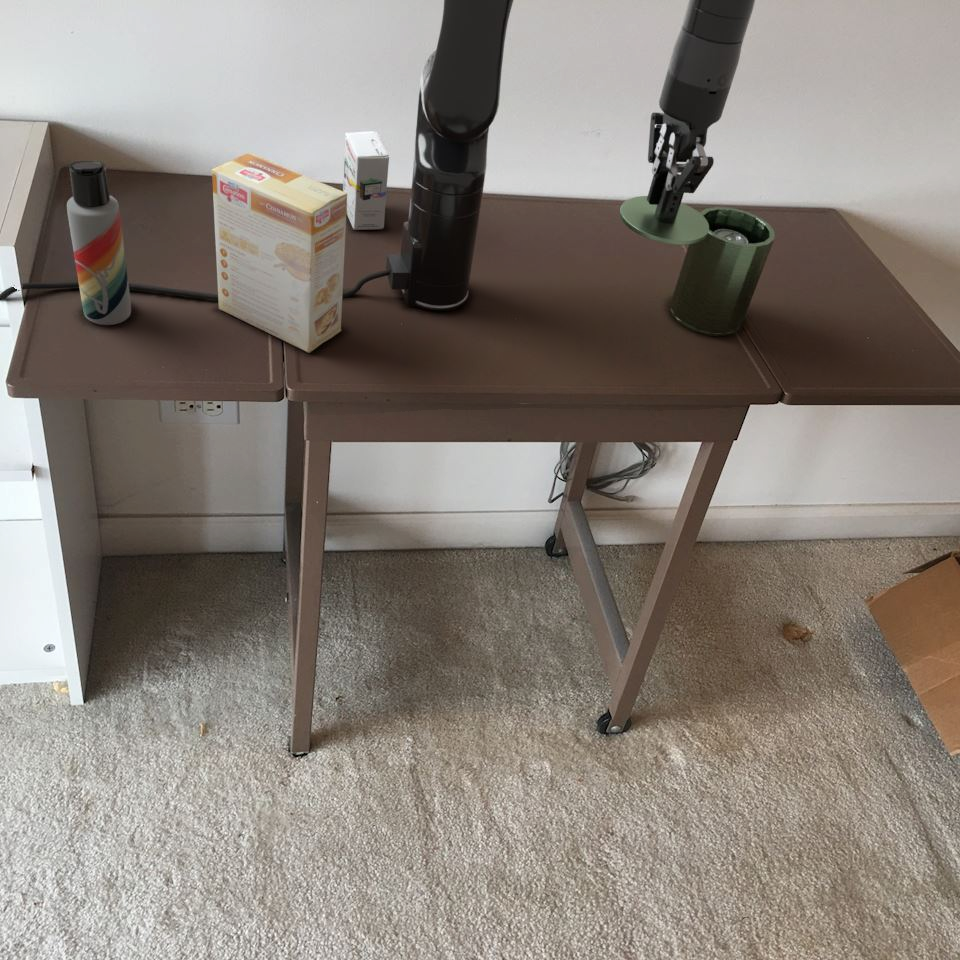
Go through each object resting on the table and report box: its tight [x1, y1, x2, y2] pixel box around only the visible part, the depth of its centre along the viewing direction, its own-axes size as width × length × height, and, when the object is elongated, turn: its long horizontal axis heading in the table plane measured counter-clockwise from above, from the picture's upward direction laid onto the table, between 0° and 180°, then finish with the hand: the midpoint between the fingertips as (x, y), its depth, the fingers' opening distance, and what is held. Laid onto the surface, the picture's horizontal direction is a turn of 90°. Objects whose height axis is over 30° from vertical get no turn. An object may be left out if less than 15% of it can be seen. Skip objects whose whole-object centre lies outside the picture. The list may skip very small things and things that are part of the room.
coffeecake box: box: [211, 152, 347, 354], centre depth 120 cm, size 15×7×20 cm, turn 59°
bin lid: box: [619, 173, 709, 246], centre depth 124 cm, size 12×12×7 cm
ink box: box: [342, 130, 390, 231], centre depth 146 cm, size 8×5×12 cm, turn 18°
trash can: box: [669, 206, 776, 337], centre depth 138 cm, size 11×11×14 cm
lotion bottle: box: [66, 160, 132, 326], centre depth 116 cm, size 6×6×20 cm
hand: (660, 209), depth 124 cm, fingers closed on bin lid, 3 cm apart
